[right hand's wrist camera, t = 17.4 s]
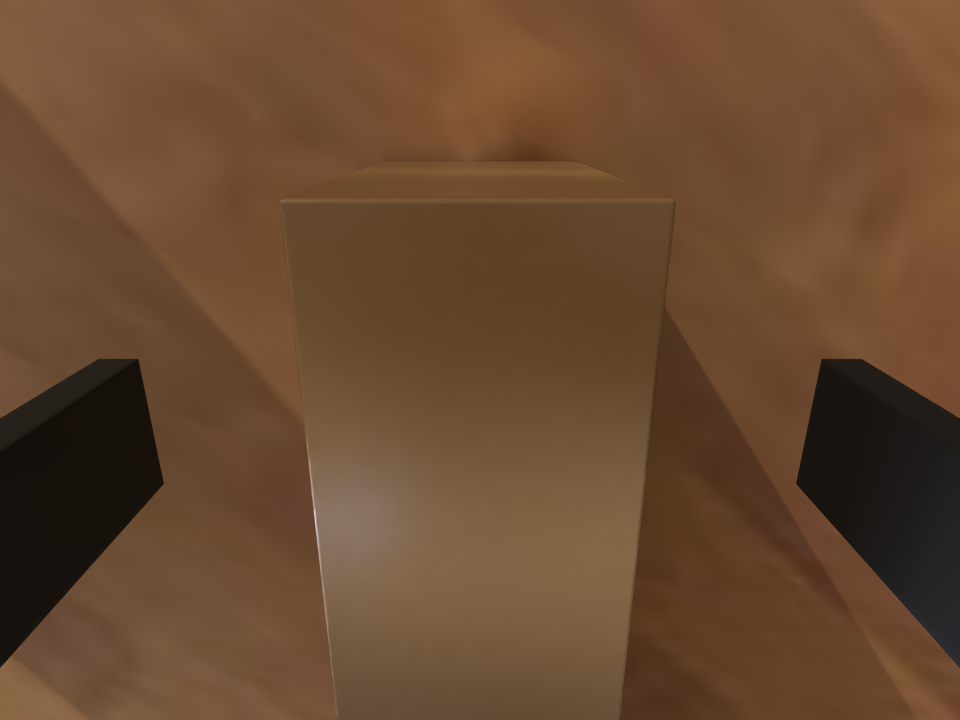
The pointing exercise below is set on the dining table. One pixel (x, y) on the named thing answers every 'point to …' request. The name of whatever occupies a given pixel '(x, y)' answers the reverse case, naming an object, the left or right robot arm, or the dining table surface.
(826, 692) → the dining table surface
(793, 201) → the dining table surface
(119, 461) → the right robot arm
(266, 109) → the dining table surface
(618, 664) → the beam
